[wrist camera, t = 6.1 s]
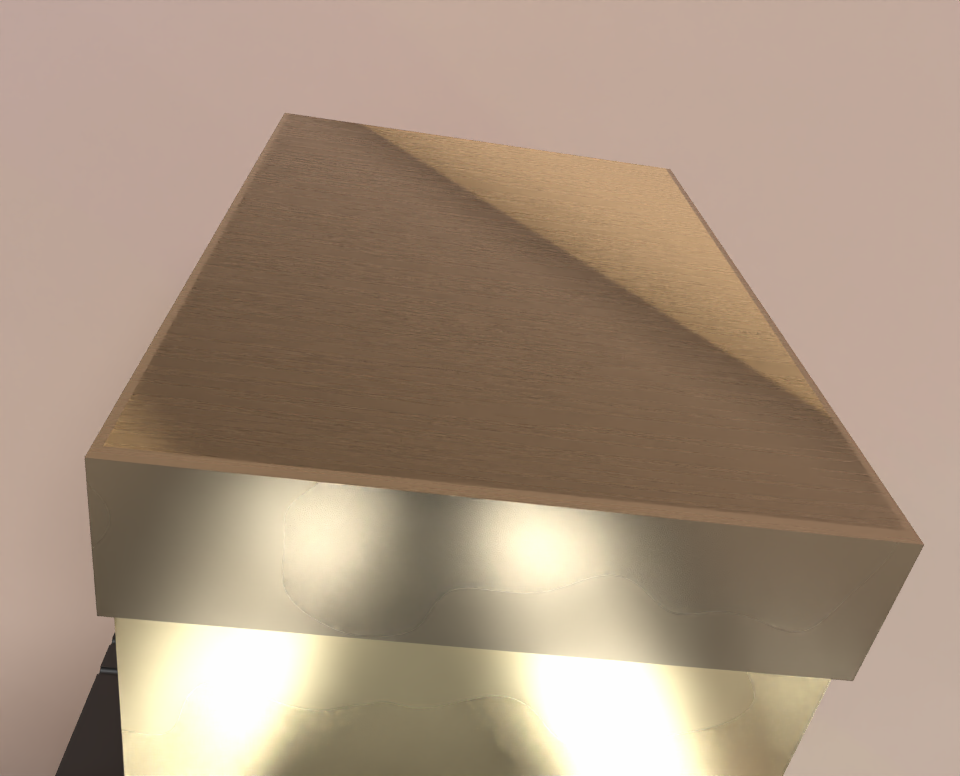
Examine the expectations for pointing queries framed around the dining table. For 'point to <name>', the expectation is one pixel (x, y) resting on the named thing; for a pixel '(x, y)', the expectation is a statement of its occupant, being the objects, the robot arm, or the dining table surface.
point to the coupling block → (476, 483)
